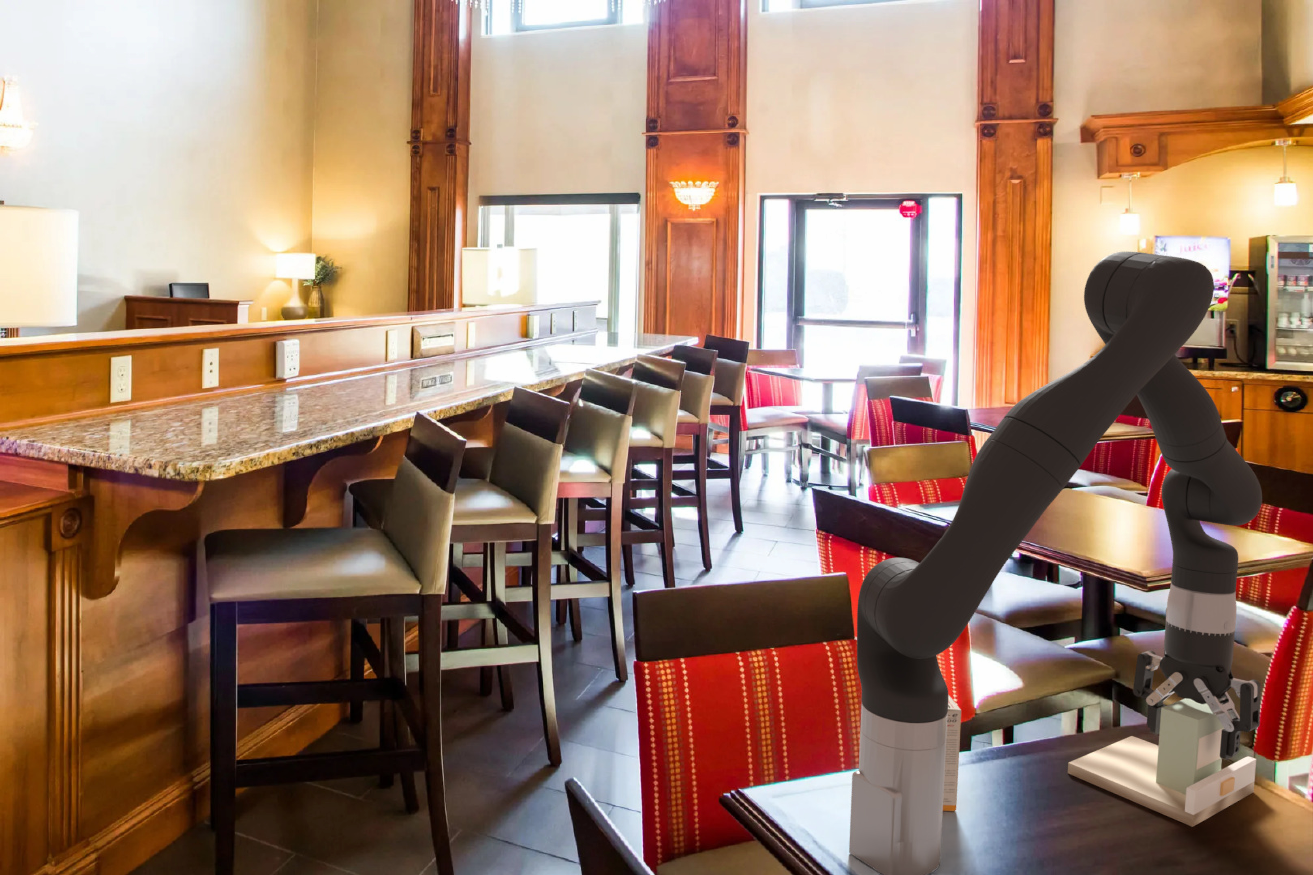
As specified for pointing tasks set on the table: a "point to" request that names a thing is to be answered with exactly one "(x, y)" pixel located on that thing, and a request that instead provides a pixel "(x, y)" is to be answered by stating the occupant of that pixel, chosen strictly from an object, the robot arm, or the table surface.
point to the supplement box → (952, 756)
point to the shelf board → (1134, 778)
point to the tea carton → (1187, 744)
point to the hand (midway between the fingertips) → (1190, 744)
